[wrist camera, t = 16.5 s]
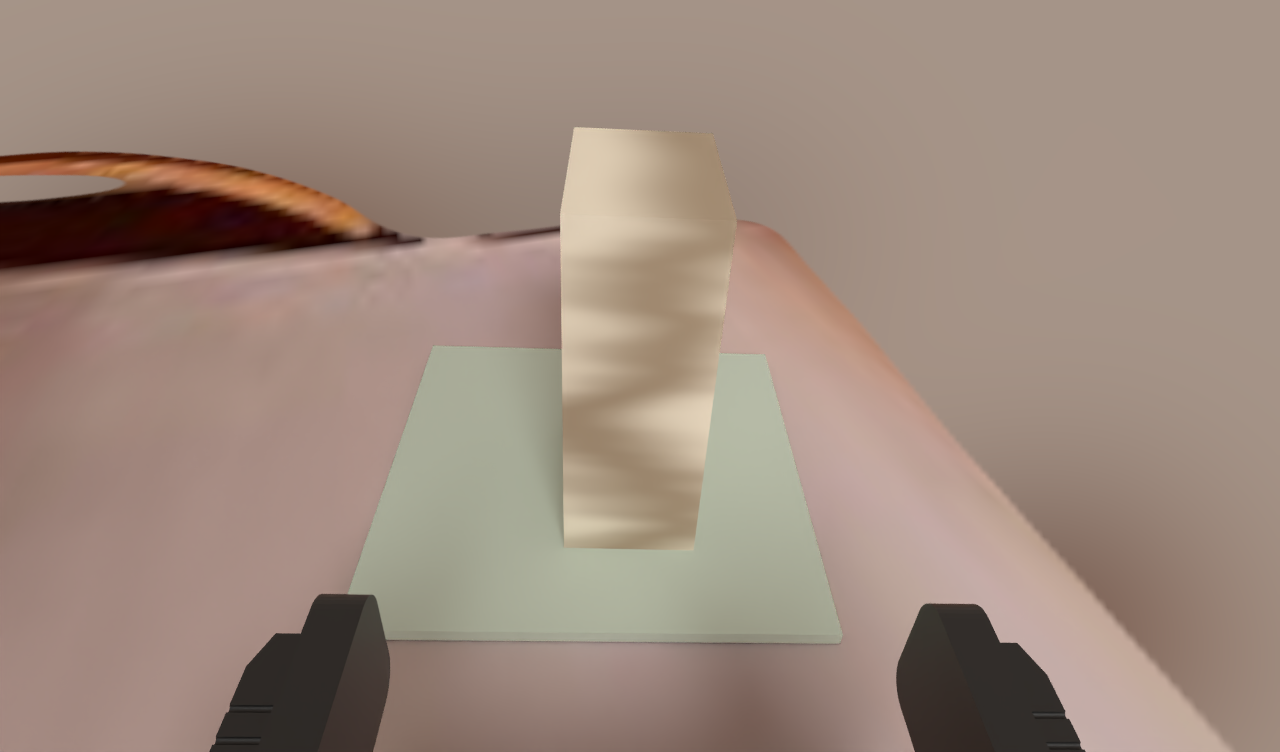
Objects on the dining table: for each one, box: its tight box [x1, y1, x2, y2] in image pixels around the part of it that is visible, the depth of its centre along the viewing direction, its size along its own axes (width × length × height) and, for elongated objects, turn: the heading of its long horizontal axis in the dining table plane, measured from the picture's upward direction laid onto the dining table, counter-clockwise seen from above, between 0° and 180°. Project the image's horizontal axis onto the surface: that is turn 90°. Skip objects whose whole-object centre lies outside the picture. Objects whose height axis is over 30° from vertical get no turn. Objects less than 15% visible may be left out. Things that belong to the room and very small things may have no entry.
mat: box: [348, 346, 843, 644], centre depth 27 cm, size 14×14×1 cm
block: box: [560, 127, 737, 550], centre depth 23 cm, size 4×6×11 cm, turn 1°
